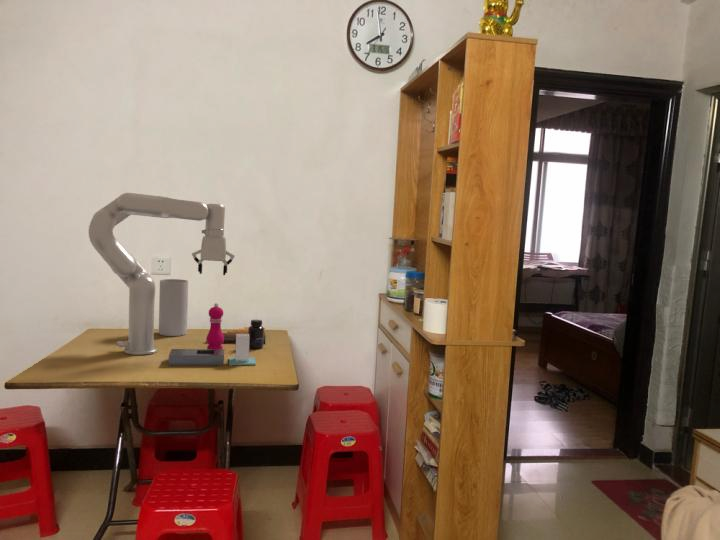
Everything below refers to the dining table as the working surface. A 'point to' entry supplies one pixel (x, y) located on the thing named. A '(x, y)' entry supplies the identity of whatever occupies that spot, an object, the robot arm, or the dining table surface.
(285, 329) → the dining table surface
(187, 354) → the rail
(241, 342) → the steel peg
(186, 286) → the cylinder vase
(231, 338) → the pan flute
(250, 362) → the teal mat
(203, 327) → the dining table surface
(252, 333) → the supplement bottle
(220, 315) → the pepper mill
